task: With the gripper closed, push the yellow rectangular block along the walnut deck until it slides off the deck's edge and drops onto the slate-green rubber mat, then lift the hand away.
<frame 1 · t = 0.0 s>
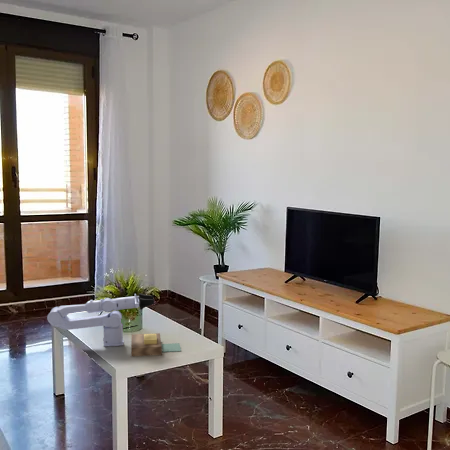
hand: (153, 299, 255), 22 cm above the table, tool horizontal, fingers open, 7 cm apart
sunglasses case: (121, 327, 282), on the table
mat: (171, 347, 249), on the table
yellow rectangular block: (150, 340, 247), point 4 cm above the table, touching deck
deck: (146, 348, 248), on the table
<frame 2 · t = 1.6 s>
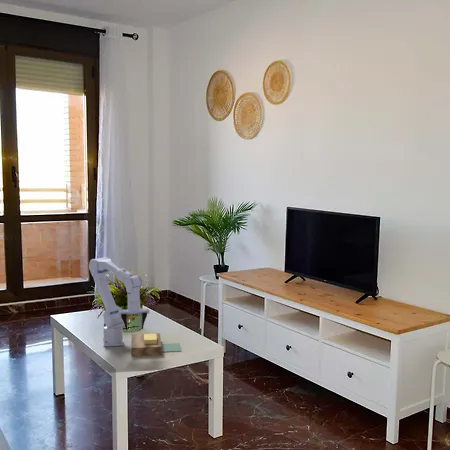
hand: (134, 328, 244), 10 cm above the table, tool pointing down, fingers open, 7 cm apart
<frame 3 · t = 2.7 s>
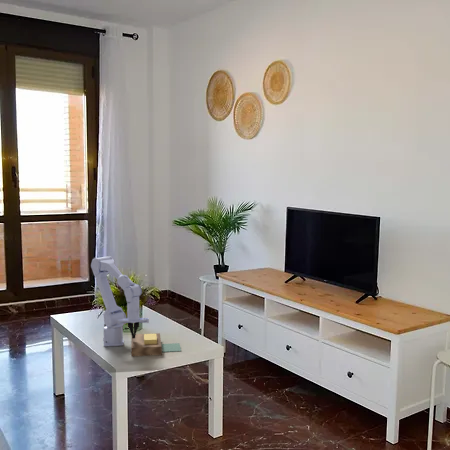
hand: (133, 337, 245), 6 cm above the table, tool pointing down, fingers closed
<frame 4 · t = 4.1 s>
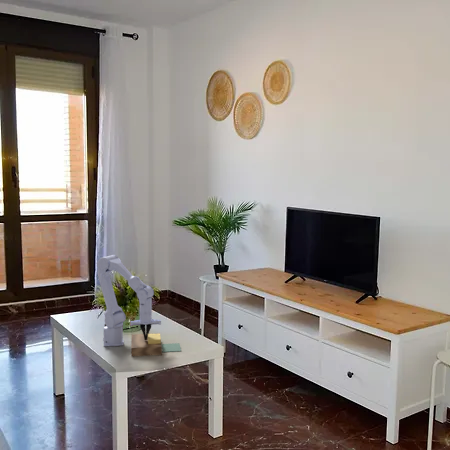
hand: (145, 339, 246), 5 cm above the table, tool pointing down, fingers closed
yellow rectangular block: (154, 340, 247), point 4 cm above the table, touching deck, gripper
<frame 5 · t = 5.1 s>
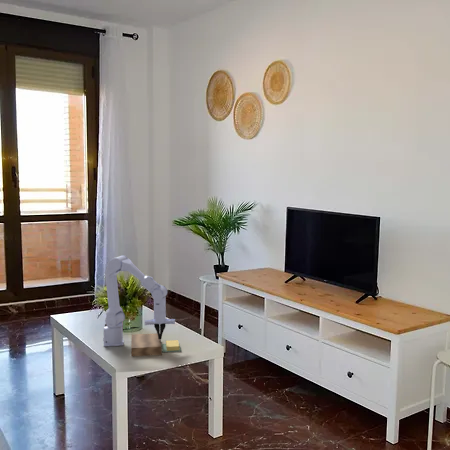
hand: (159, 338, 248), 5 cm above the table, tool pointing down, fingers closed
yellow rectangular block: (172, 343, 249), point 2 cm above the table, tilted 180°, touching mat
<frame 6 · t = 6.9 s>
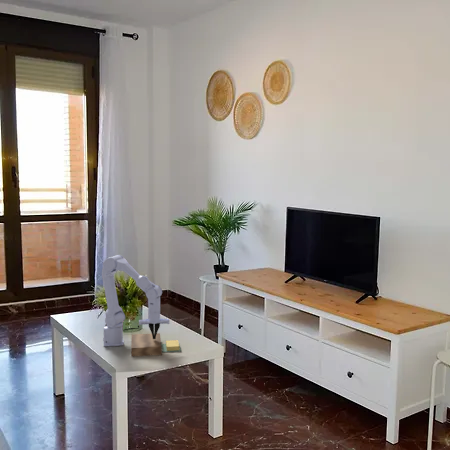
hand: (154, 338, 247), 5 cm above the table, tool pointing down, fingers closed
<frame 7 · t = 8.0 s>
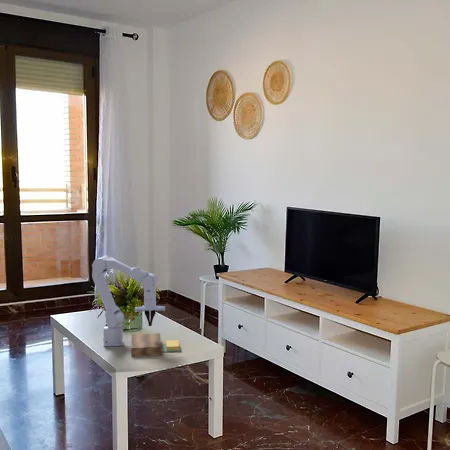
hand: (150, 325, 250), 10 cm above the table, tool pointing down, fingers closed
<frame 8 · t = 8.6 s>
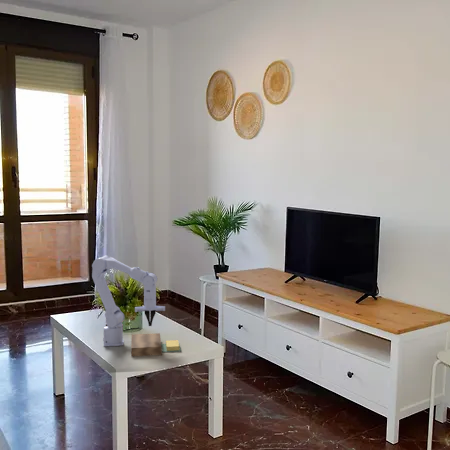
hand: (150, 325, 250), 10 cm above the table, tool pointing down, fingers closed
at the end: yellow rectangular block point 2.3 cm above the table; yellow rectangular block inside the target area on the mat (0.7 cm from its centre), point 2.3 cm above the mat's base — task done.
